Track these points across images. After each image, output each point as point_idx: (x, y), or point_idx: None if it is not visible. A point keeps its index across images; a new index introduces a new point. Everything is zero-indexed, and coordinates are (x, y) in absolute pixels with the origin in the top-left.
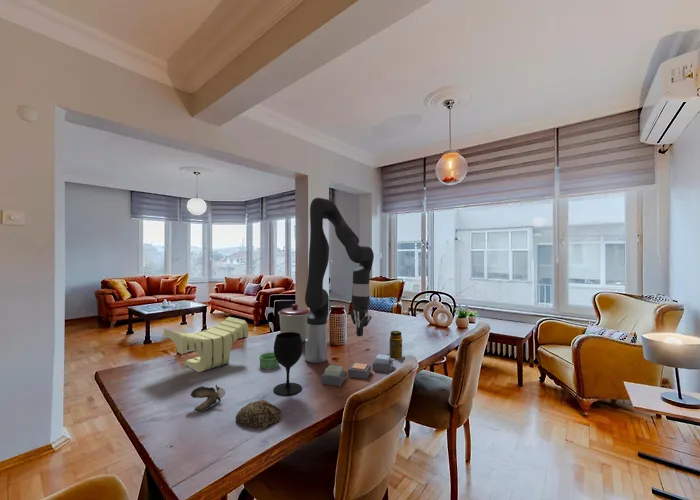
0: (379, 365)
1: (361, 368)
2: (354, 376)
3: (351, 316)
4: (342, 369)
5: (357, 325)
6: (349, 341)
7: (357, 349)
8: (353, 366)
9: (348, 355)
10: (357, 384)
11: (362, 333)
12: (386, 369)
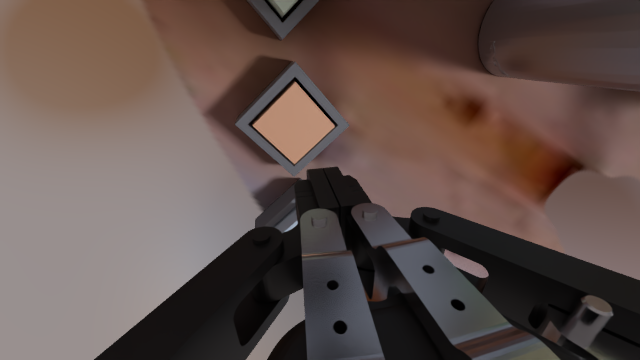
0: (283, 205)
1: (264, 117)
2: (272, 81)
3: (555, 259)
4: (281, 13)
5: (351, 219)
6: (547, 231)
7: (479, 221)
8: (302, 96)
9: (460, 171)
10: (200, 51)
11: (296, 210)
12: (264, 216)
